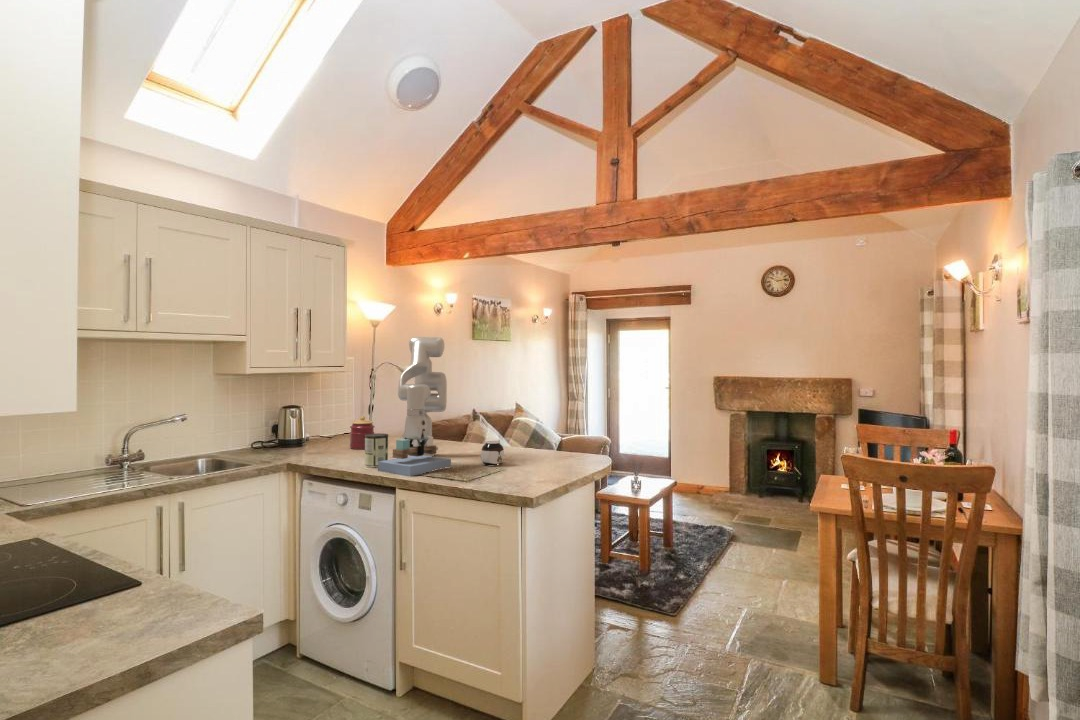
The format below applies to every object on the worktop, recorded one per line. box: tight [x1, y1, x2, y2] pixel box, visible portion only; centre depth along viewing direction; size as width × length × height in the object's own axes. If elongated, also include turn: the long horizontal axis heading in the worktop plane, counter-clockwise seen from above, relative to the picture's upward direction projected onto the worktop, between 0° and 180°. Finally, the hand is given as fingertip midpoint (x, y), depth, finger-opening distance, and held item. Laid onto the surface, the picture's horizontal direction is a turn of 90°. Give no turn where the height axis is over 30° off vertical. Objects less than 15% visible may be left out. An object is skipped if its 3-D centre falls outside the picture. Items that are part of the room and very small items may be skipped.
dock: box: [377, 455, 452, 477], centre depth 247 cm, size 24×20×4 cm
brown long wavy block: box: [392, 444, 437, 459], centre depth 247 cm, size 20×6×4 cm, turn 145°
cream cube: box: [425, 436, 434, 447], centre depth 253 cm, size 4×4×4 cm
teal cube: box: [395, 438, 410, 450], centre depth 241 cm, size 4×4×4 cm
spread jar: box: [480, 438, 505, 466], centre depth 262 cm, size 12×11×12 cm
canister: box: [349, 415, 376, 450], centre depth 311 cm, size 13×13×18 cm
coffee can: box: [364, 432, 389, 468], centre depth 256 cm, size 10×10×14 cm
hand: (415, 453), depth 247 cm, fingers closed on brown long wavy block, 6 cm apart
